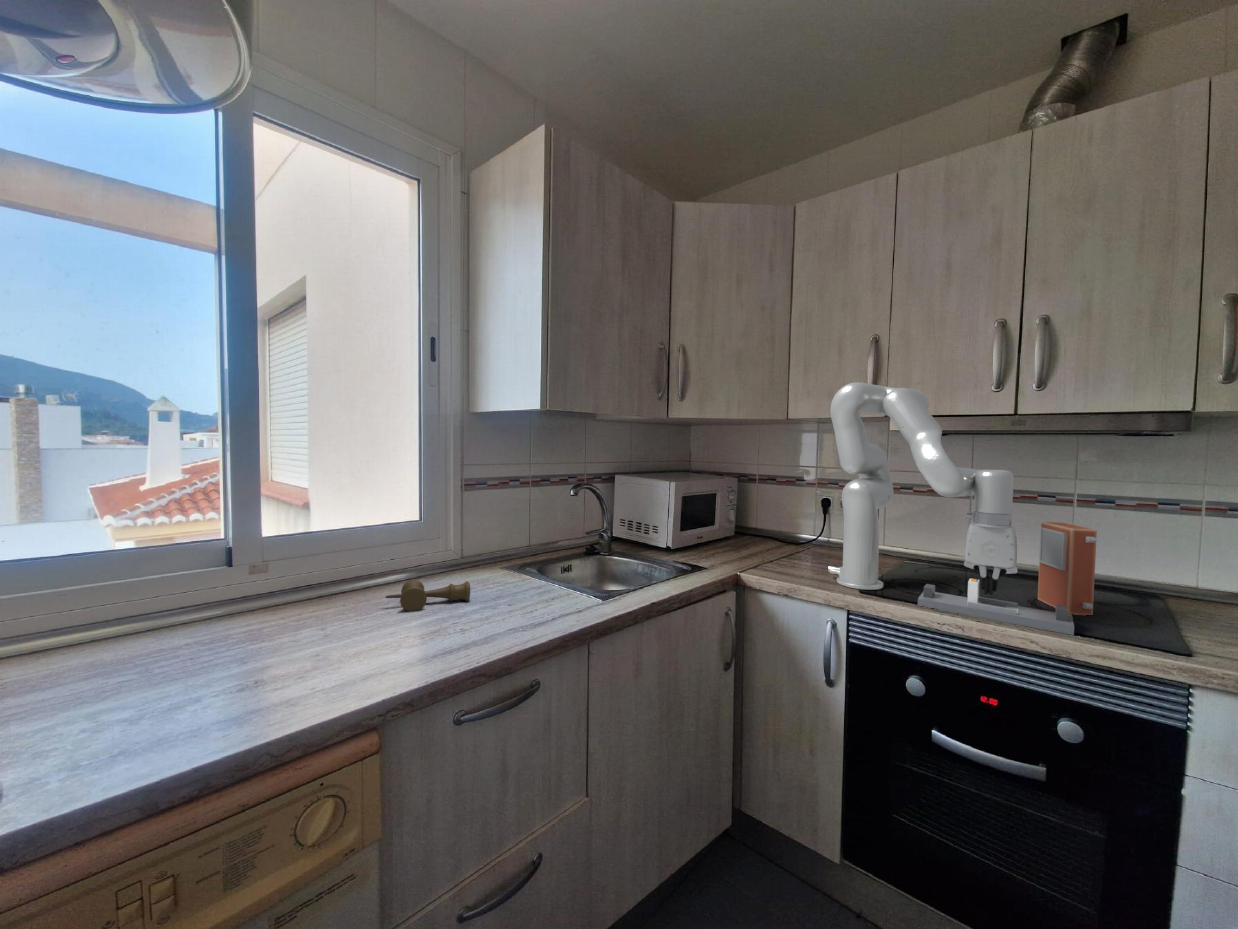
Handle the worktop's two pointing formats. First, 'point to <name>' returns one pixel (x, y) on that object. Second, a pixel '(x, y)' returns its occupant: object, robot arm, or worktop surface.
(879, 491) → the robot arm
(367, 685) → the worktop surface
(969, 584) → the breaker handle
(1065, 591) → the orange rectangular block
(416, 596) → the kendama
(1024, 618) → the strip
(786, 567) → the worktop surface
